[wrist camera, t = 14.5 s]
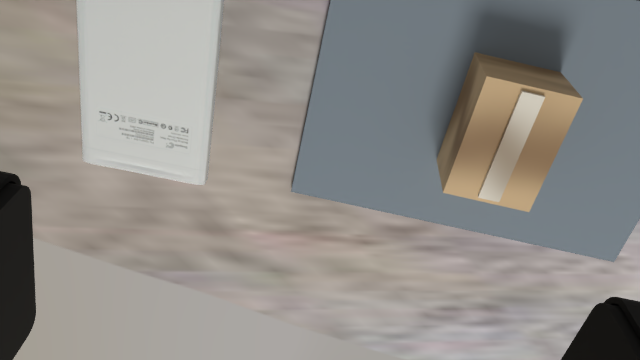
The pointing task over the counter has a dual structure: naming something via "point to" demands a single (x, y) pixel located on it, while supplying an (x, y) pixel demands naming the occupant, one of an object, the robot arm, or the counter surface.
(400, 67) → the mat
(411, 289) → the counter surface
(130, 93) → the external hard drive
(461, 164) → the taped cardboard box
